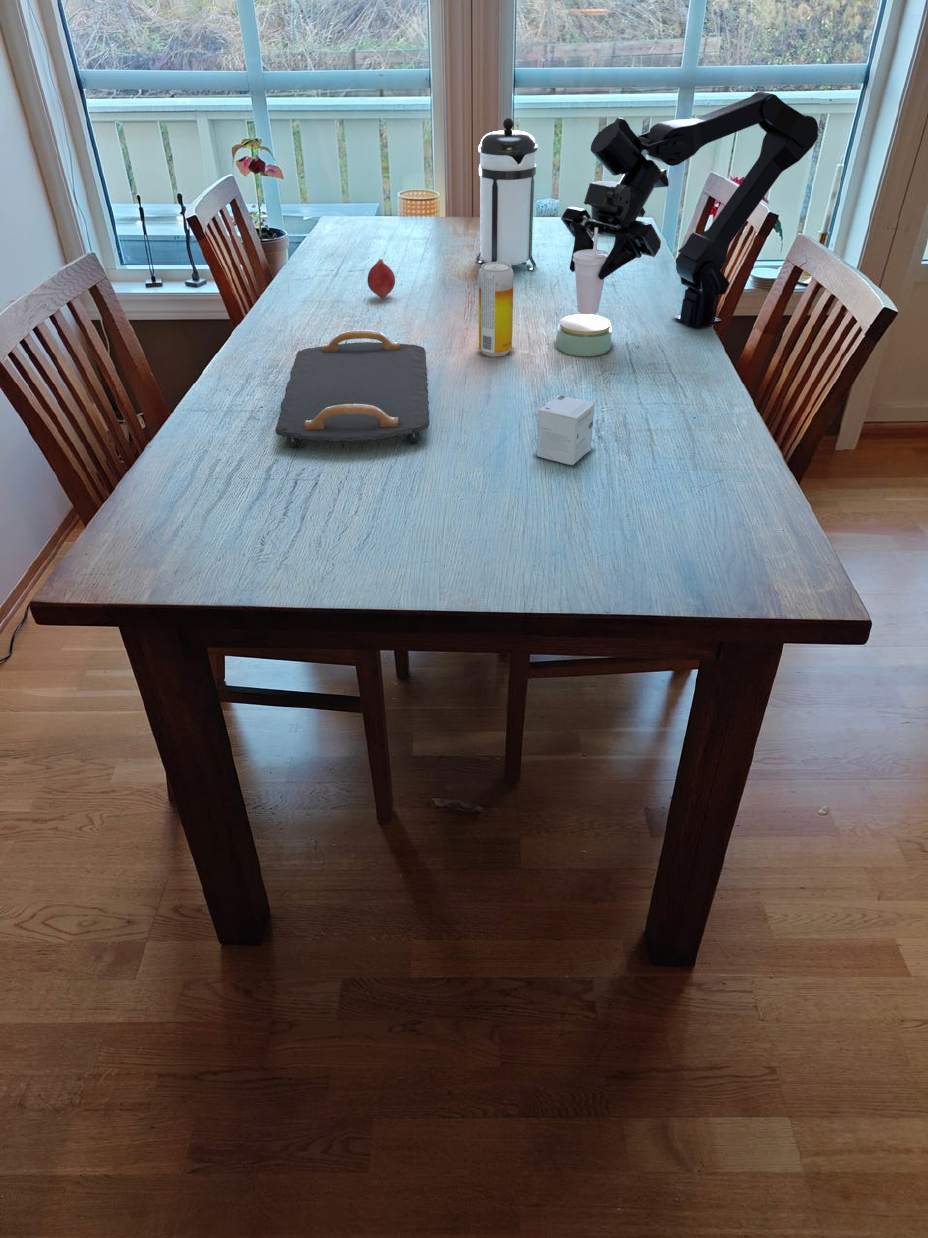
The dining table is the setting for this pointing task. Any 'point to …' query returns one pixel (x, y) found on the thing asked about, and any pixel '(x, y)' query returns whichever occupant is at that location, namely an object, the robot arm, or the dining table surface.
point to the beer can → (495, 308)
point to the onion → (381, 279)
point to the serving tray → (356, 391)
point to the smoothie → (589, 277)
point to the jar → (584, 335)
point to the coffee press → (507, 196)
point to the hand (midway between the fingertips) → (585, 274)
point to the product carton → (565, 429)
